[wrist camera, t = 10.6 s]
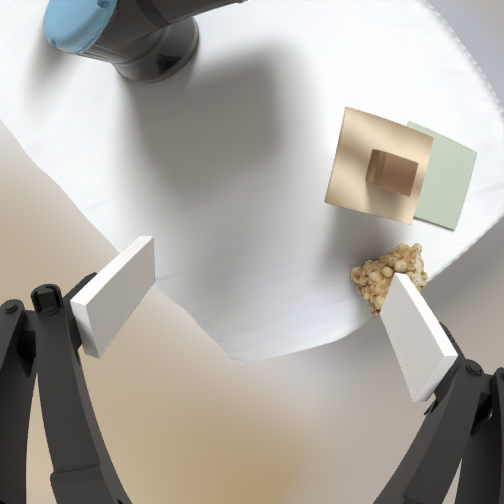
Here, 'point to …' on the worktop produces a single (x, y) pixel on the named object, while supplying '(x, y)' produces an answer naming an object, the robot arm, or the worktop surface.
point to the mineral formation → (388, 274)
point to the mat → (444, 179)
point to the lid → (378, 166)
